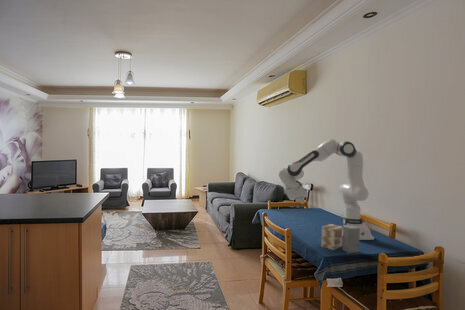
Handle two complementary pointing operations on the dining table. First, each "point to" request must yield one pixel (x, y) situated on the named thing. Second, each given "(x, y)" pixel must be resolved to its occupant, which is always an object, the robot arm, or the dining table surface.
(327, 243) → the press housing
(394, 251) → the dining table surface
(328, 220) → the dining table surface
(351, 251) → the skincare box
